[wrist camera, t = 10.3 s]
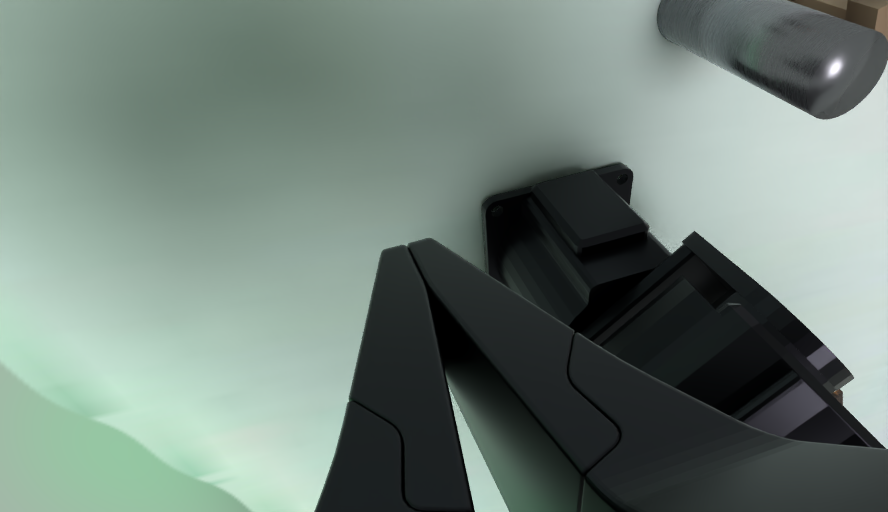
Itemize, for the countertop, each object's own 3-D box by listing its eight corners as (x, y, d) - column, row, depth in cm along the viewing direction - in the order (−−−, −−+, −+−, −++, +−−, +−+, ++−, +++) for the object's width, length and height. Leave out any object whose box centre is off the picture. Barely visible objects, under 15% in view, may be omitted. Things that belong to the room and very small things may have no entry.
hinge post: (710, 35, 22) (868, 109, 16) (653, 47, 21) (796, 127, 16) (724, -35, 20) (903, 22, 15) (662, -23, 20) (824, 40, 14)
